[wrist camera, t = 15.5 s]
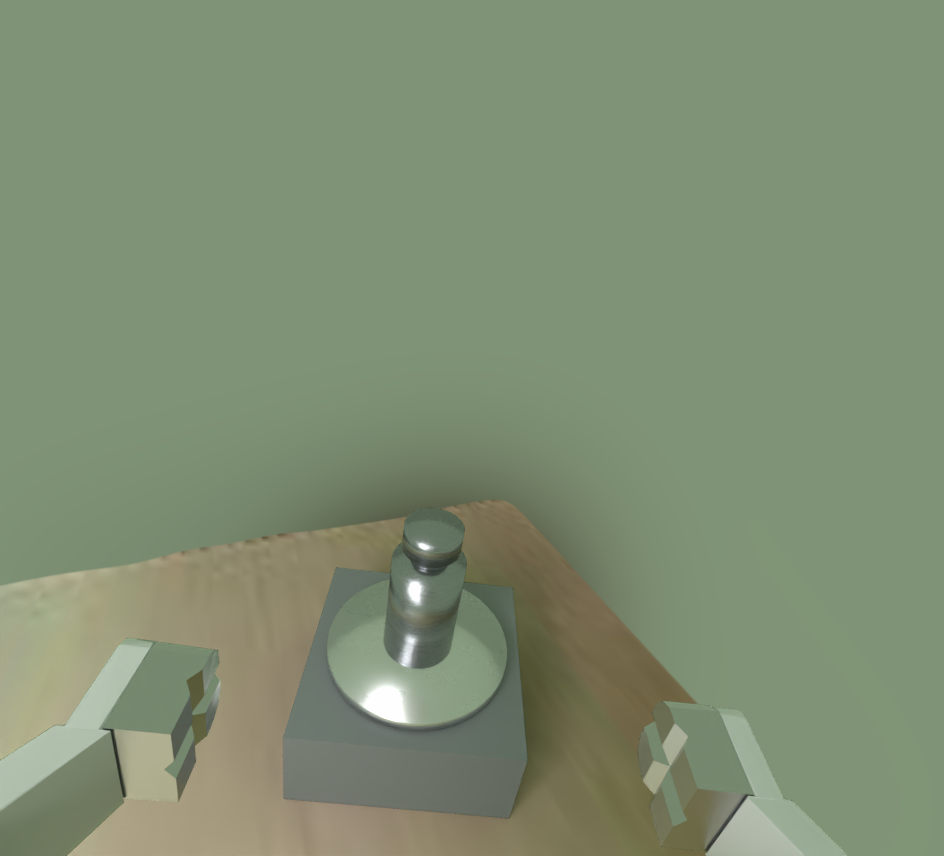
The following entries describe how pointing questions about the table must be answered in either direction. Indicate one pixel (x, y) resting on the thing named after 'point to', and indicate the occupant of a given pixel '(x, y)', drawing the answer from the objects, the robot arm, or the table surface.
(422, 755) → the scale base
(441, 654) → the calibration weight
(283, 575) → the table surface
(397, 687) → the scale pan
